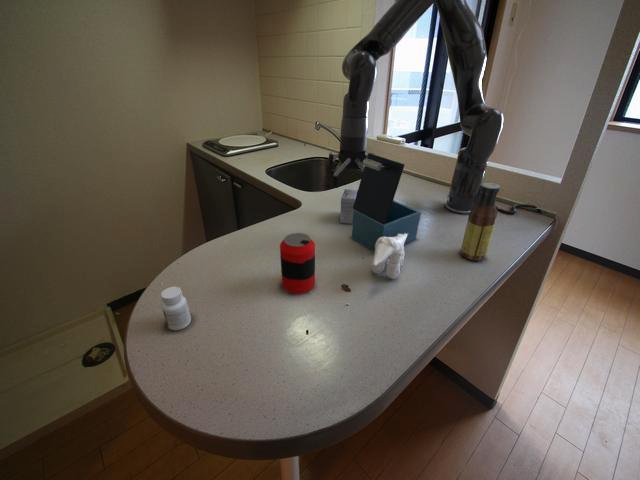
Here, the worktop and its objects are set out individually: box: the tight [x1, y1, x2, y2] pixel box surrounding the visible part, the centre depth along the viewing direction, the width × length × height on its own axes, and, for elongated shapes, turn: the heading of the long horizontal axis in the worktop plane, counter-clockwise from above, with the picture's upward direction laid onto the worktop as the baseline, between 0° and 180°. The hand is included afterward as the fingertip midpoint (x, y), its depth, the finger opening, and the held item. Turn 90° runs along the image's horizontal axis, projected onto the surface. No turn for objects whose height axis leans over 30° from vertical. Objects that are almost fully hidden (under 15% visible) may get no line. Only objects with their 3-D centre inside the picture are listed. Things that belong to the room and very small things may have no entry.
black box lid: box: [353, 152, 406, 225], centre depth 79 cm, size 15×12×5 cm
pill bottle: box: [160, 286, 192, 331], centre depth 60 cm, size 4×4×8 cm
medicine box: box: [339, 188, 358, 225], centre depth 101 cm, size 8×4×9 cm, turn 168°
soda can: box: [279, 232, 316, 295], centre depth 70 cm, size 8×8×12 cm
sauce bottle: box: [460, 182, 501, 262], centre depth 80 cm, size 7×6×20 cm
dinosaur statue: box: [371, 233, 408, 280], centre depth 77 cm, size 7×24×11 cm, turn 148°
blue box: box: [351, 199, 422, 253], centre depth 90 cm, size 15×12×9 cm
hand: (349, 187), depth 98 cm, fingers open, 8 cm apart
